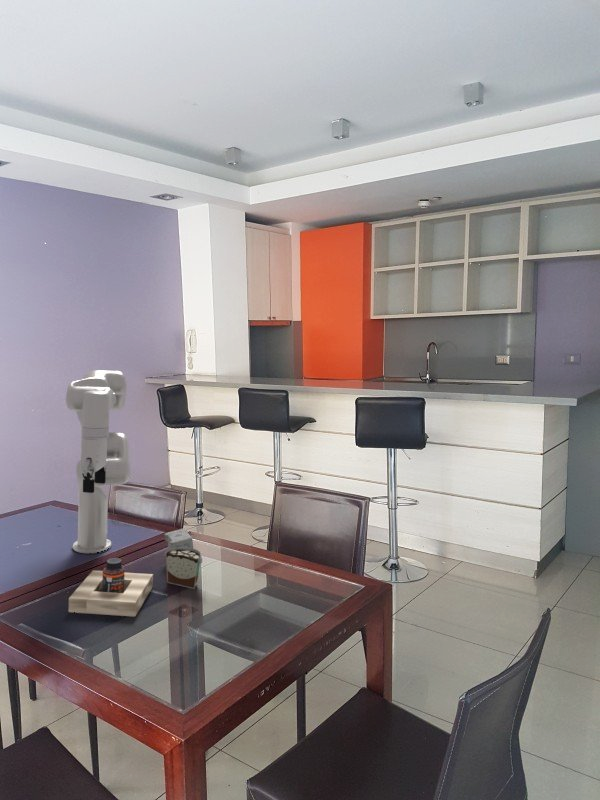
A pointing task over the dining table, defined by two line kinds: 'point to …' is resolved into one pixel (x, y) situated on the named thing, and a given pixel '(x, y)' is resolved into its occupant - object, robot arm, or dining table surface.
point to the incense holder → (178, 539)
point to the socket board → (111, 595)
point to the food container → (183, 566)
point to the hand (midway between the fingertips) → (94, 487)
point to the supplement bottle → (113, 576)
